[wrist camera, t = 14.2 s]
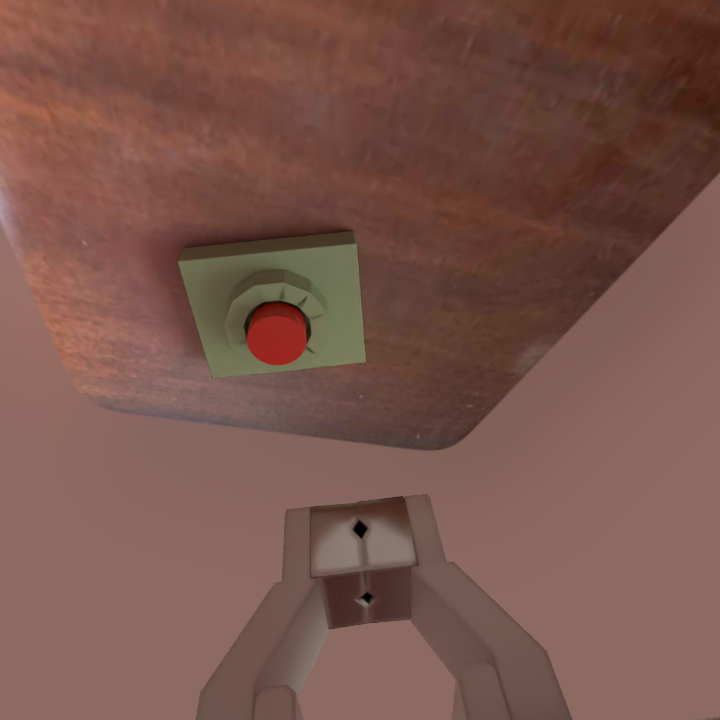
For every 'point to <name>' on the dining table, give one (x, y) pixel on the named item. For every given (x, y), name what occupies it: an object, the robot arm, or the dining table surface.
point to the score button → (277, 334)
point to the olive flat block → (276, 298)
